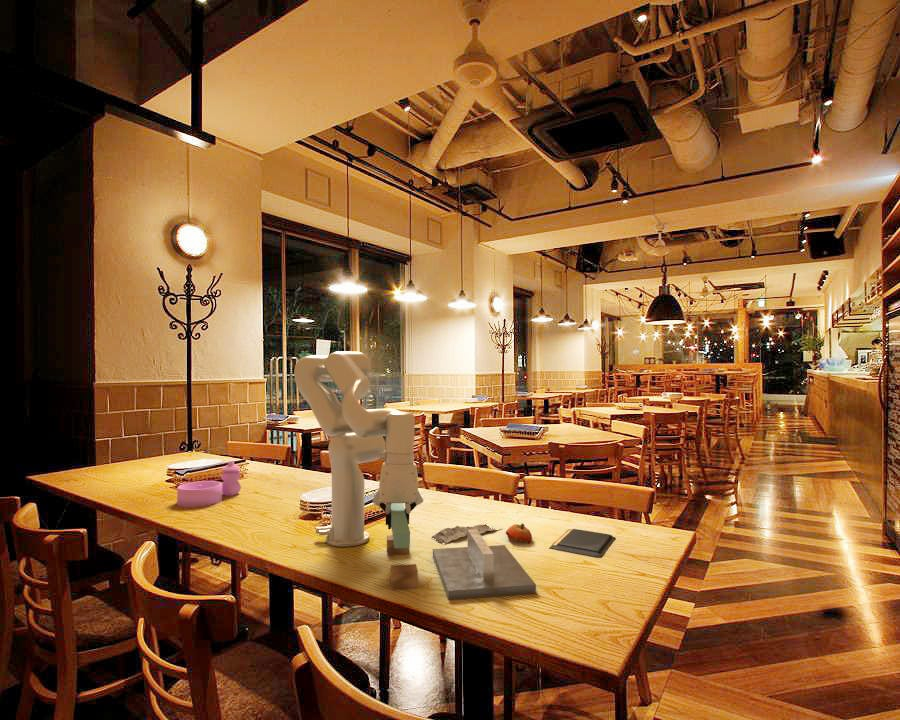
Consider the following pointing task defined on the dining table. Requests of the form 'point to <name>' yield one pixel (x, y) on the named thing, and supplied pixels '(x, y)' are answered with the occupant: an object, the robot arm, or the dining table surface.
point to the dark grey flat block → (584, 543)
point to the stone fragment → (458, 532)
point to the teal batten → (399, 526)
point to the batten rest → (401, 569)
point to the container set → (210, 489)
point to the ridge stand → (481, 570)
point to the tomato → (519, 533)
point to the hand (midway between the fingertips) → (397, 526)
